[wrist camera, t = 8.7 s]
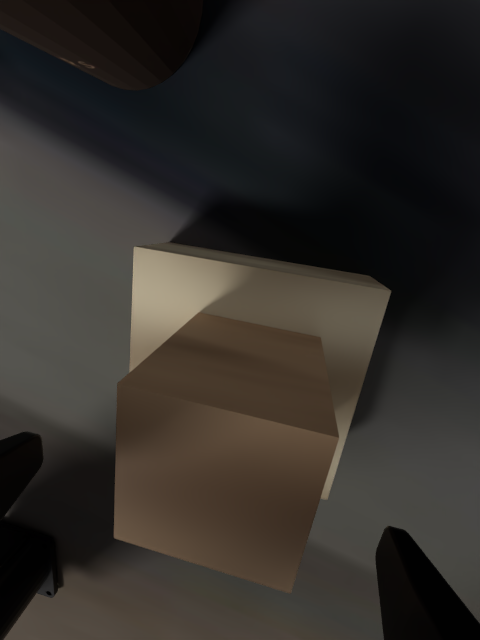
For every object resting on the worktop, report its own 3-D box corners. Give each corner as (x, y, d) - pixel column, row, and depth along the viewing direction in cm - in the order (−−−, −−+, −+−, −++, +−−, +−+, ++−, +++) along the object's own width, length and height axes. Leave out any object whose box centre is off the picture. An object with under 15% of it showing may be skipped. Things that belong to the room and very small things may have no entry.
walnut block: (294, 440, 14) (290, 593, 8) (187, 413, 14) (113, 538, 9) (320, 337, 12) (339, 437, 6) (198, 312, 13) (117, 383, 7)
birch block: (321, 442, 18) (327, 500, 14) (160, 404, 19) (126, 447, 16) (367, 274, 15) (391, 290, 11) (172, 241, 16) (134, 246, 12)
